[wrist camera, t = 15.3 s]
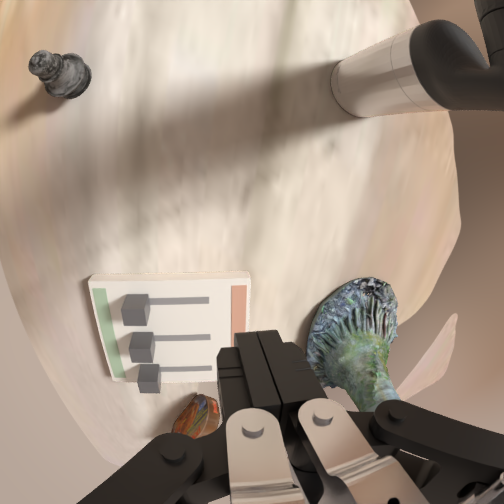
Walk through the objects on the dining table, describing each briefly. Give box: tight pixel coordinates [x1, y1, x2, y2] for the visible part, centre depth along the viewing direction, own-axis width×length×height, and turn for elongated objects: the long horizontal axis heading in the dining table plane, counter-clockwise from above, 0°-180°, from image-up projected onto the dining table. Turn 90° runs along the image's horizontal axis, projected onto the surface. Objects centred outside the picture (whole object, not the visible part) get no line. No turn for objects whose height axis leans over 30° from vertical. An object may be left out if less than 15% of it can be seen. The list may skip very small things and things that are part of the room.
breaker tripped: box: [128, 332, 156, 363], centre depth 37 cm, size 3×2×4 cm
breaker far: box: [137, 364, 161, 393], centre depth 39 cm, size 3×2×4 cm
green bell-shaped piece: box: [306, 277, 400, 412], centre depth 43 cm, size 19×21×19 cm
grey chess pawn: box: [28, 50, 92, 99], centre depth 22 cm, size 6×6×12 cm
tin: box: [171, 394, 220, 439], centre depth 45 cm, size 15×3×8 cm, turn 146°
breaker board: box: [88, 271, 251, 383], centre depth 41 cm, size 22×18×3 cm
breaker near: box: [121, 294, 151, 326], centre depth 35 cm, size 3×2×4 cm
